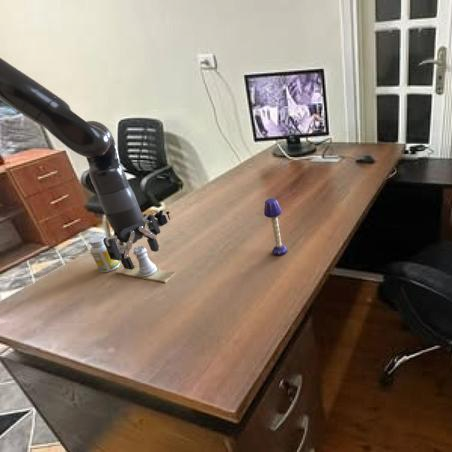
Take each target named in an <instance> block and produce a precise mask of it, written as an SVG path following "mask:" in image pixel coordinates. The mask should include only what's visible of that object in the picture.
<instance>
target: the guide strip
mask: <svg viewBox="0 0 452 452" xmlns="http://www.w3.org/2000/svg"><path fill="white" fill-rule="evenodd" d="M133 265H134V269H132V270H130V269H126V268H124V266H123V265H122V267H120V268H118V269H117V270H116V271H115V274H117V275H122V276H126V277H133V278H138V279H142V280H147V281H153V282H159V283H162V284H163V283H164V284H166V283H168V282H169V281H170V280H171V279H172V278H174V277H175V276H176V275H177V272H175V271H171V270H170V271H169V270H164V269H158V268H157V271H156V273H154V274H153V275H151V276H148V277H143V276H141V275H140V272H139V266H140V265H137V264H133Z"/></svg>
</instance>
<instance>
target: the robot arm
mask: <svg viewBox="0 0 452 452" xmlns="http://www.w3.org/2000/svg"><path fill="white" fill-rule="evenodd" d="M0 100H1V101H2V102H3V103H4V104H6V105H7V106H9V107H10V108H12V109H13V110H15V111H16V112H18V113H20V114H21V115H23V116H24V117H26V118H28V119H29V120H31V121H32V122H34V123H36V124H37V125H39V126H40V127H42V128H44V129H45V130H47V131H48V132H49V134H51V135H52V136H53V137H54V138H56V139H57V140H58V141H59V142H60V143H62V144H63V145H64V146H66V148H68V149H70V150H71V151H73V152H74V153H75V154H77V155H79V156H81V157H84V158H86V161H87V163H88V167H89V168H88V175H89V179H90V181H91V183H92V186H93V188H94V190H95V192H96V195H97V198H98V201H99V204H100V206H101V209H102V211H103V213H104V215H105V217H106V220H107V222H108V224H109V226H110V228H111V229H112V230H113V234H112V235H111V236H109V237H106V238H104V239H103V242H104V244H105V247H106V249H107V252H108V254H109V257H110V259H112V260H118V261H120V263H121V264H122V267H123V266H124V268H126V269H130V270H132V269H134V265H135V264H134V263H133V261H132V258H131V257H130V256H129V255H130V251H131V249H132V247H133V244H135V243H137V242H138V240H142V239H143V237H144V238H146V241H147V243H148V246H149V249H150V251H152V252H155V253H156V252H158V251H160V249H159V248H160V245H159V243H158V240H157V235H158V234H161V229H160V226H158V224H157V222H156V220H157V219H156V218H155V217H154V215H155V214H154V215H153V214H149V213H144V214H143V213H142V211H141V208H140V205H139V203H138V200H137V197H136V195H135V193H134V190H133V189H132V187H131V186H130V183H129V180H128V178H127V176H126V173H125V170H124V169H123V166H122V164H121V160H120V156H119V152H118V148H117V144H116V141H115V139H114V136H113V134H112V132H111V130H110V129H109V127H107V126H106V124H103V123H102V122H99V121H97V120H87V121H86V120H84V119H83V118H82V117H80V115H78V114H77V113H75V112H74V111H73V110H72V108H71V106H70V105H69V104H68V102H66V101H65V100H64V99H63V98H61V97H59V95H56V93H53V92H52V91H51V90H49V89H48V88H46V87H45V86H44V85H42V84H40V83H39V82H38V81H36V80H35V79H33V78H32V77H31V76H28V75H27V74H26V73H24V72H23V71H22V70H19V69H18V68H17V67H15V66H13V65H12V64H10V63H9V62H8V61H6V60H5V59H3V58H1V57H0ZM155 219H156V220H155ZM146 226H147V228H148V229H146Z"/></svg>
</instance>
